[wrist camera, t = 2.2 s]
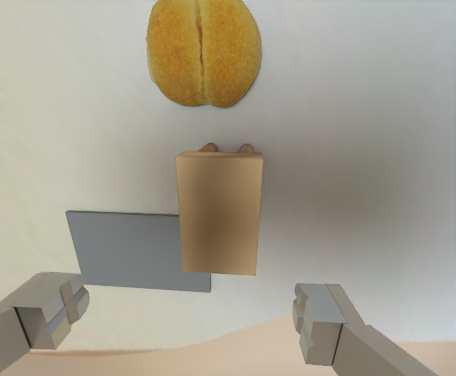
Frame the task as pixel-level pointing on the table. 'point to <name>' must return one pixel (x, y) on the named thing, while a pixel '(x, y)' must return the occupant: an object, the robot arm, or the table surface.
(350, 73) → the table surface
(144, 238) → the mat
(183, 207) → the stool
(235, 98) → the bread roll
